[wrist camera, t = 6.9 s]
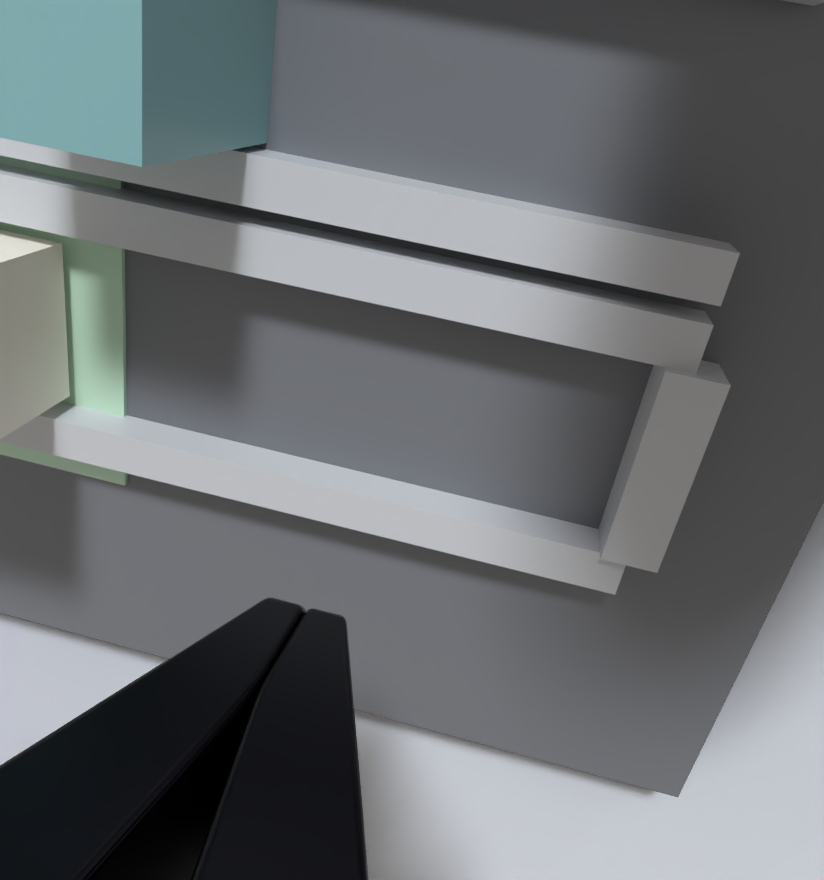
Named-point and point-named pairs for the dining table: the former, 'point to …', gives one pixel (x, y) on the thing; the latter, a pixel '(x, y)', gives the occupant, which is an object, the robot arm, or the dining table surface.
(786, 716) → the dining table surface
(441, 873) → the dining table surface
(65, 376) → the fader cap
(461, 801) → the dining table surface
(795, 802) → the dining table surface
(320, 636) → the robot arm
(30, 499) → the console board
